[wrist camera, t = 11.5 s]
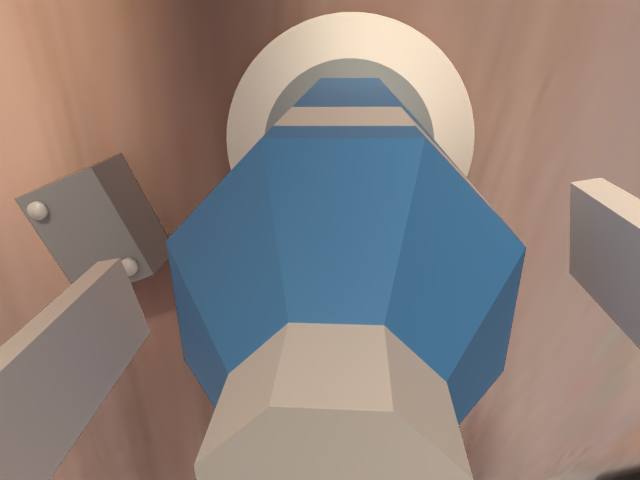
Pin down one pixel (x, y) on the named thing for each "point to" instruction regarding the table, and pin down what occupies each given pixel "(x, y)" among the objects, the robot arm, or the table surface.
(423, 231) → the water bottle
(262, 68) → the cream plate
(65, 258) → the box
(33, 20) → the table surface
